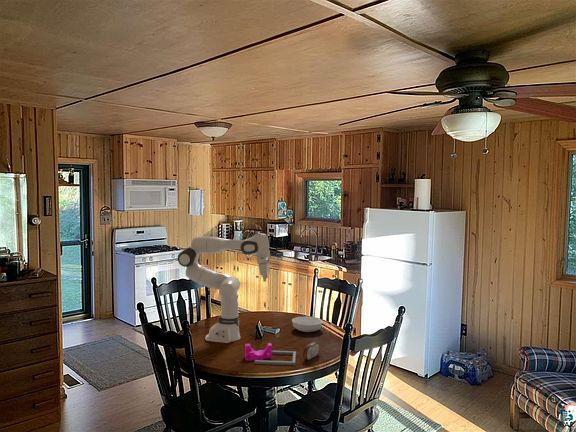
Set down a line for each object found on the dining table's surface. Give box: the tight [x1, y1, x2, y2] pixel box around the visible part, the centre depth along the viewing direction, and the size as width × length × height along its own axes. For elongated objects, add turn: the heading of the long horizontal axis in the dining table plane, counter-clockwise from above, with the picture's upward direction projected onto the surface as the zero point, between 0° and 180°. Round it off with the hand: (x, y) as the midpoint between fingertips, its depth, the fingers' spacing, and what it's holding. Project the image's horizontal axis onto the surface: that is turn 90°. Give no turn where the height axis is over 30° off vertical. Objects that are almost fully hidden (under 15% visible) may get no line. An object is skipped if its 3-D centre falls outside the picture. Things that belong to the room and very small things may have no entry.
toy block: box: [244, 342, 273, 361], centre depth 249 cm, size 15×6×8 cm, turn 97°
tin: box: [302, 340, 320, 361], centre depth 251 cm, size 15×3×8 cm, turn 146°
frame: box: [254, 349, 297, 366], centre depth 248 cm, size 22×17×2 cm
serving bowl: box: [291, 316, 323, 333], centre depth 301 cm, size 21×21×7 cm
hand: (265, 279), depth 277 cm, fingers open, 8 cm apart
